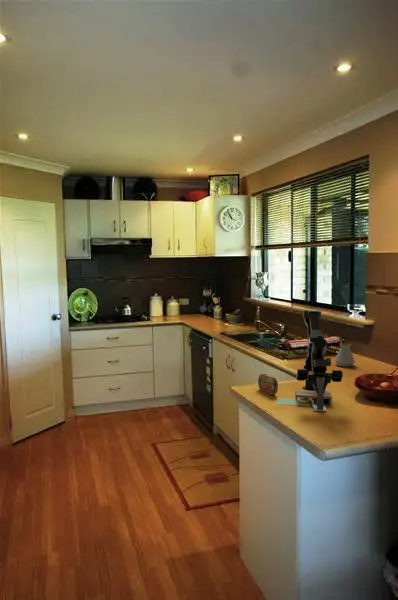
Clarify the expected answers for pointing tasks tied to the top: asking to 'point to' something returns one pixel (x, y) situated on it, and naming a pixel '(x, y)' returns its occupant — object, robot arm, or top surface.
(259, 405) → the top surface
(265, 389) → the tin
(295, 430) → the top surface
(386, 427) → the top surface
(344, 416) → the top surface
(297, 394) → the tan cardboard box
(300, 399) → the token
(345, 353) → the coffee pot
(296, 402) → the mat
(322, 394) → the grey l-shaped block
